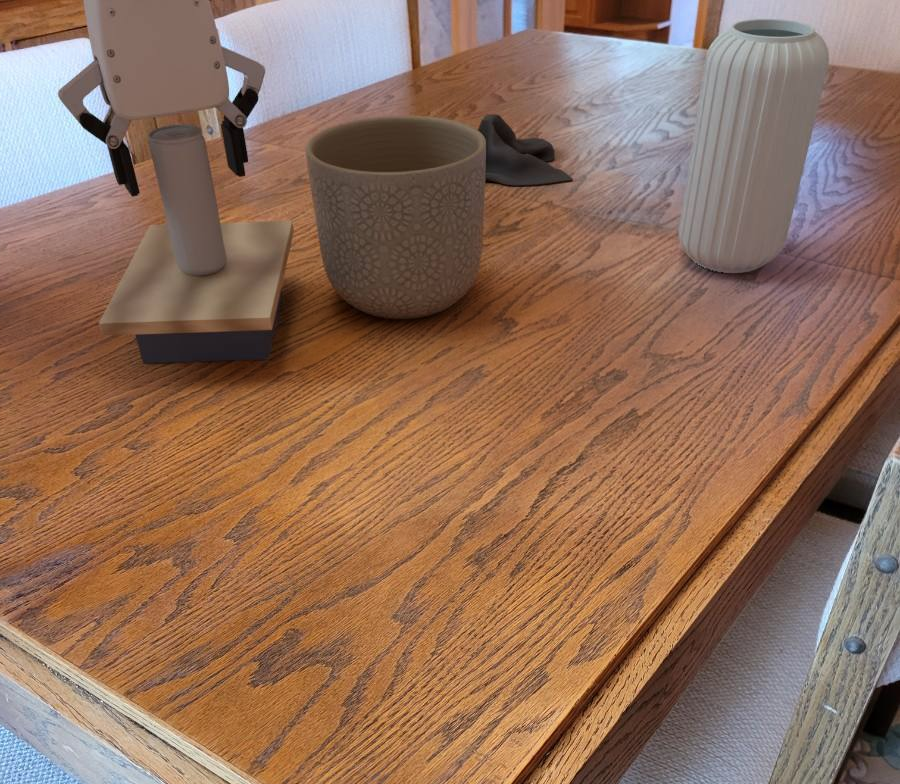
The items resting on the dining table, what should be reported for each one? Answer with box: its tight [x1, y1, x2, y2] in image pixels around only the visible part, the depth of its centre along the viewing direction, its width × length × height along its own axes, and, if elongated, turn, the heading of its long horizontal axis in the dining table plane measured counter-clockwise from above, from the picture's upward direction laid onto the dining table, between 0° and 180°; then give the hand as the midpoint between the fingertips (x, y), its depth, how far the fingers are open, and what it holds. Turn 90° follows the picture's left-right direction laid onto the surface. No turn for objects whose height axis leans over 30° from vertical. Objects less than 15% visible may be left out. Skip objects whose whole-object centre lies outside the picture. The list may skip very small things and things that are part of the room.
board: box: [98, 220, 295, 336], centre depth 87 cm, size 15×22×1 cm
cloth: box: [477, 113, 573, 187], centre depth 122 cm, size 22×19×6 cm
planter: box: [305, 115, 486, 320], centre depth 90 cm, size 17×17×15 cm
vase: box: [677, 18, 830, 274], centre depth 93 cm, size 12×12×22 cm
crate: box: [134, 287, 284, 364], centre depth 89 cm, size 12×14×5 cm
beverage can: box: [148, 123, 227, 276], centre depth 83 cm, size 5×5×12 cm
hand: (185, 181), depth 81 cm, fingers open, 9 cm apart
